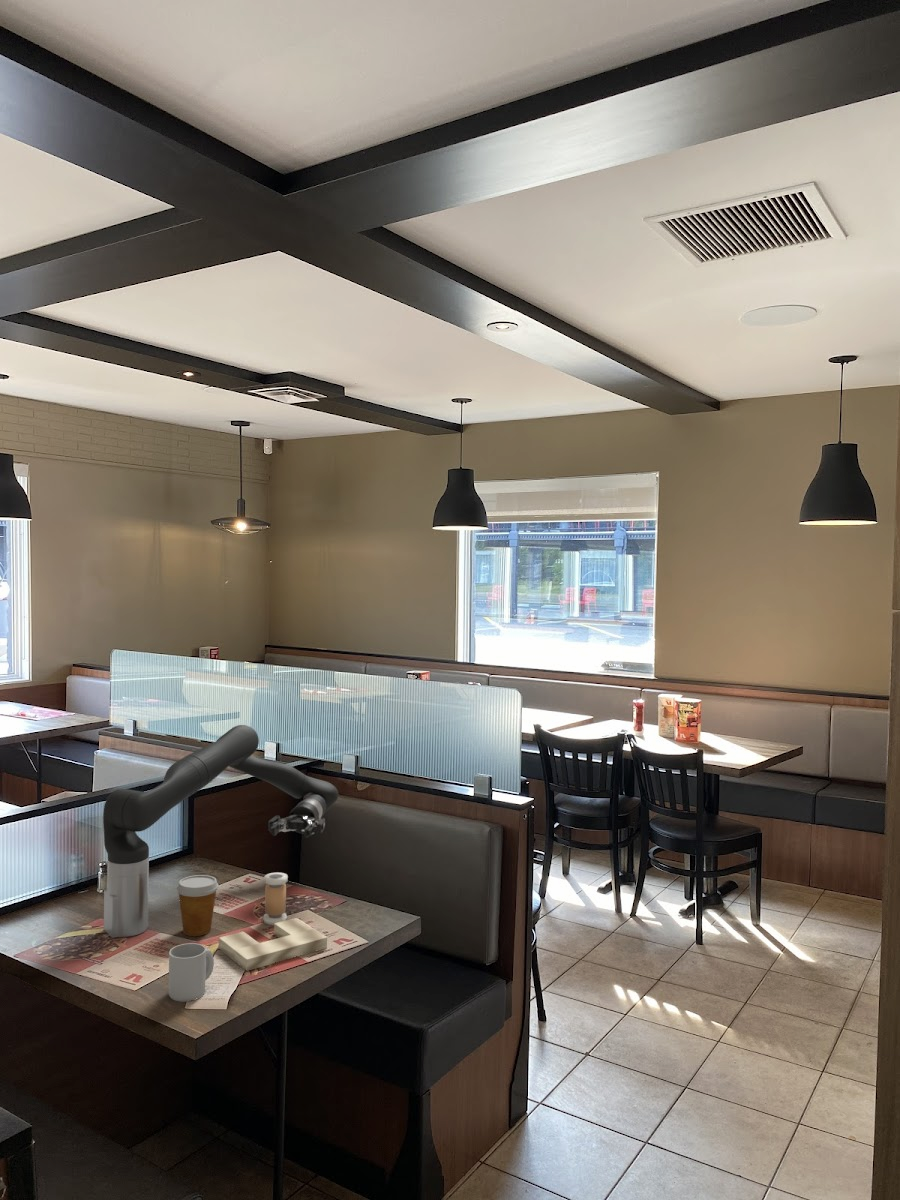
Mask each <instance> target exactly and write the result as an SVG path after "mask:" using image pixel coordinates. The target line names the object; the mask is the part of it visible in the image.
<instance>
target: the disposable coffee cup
mask: <svg viewBox="0 0 900 1200" xmlns="http://www.w3.org/2000/svg"><path fill="white" fill-rule="evenodd" d="M218 888H219V883H218V881H217V878H216V877H215V876H212V875H208V874H195V875H190V876H186V877H183V878H181V879H180V880H179V881H178V884H177V886H176V891H177V893H178V897H179V905H180V914H181V922H182V923H181V924H182V933H183V934H184V935H186V936H189V937H200V936H204V935H206V934H209V933H210V932H211V931H212V923H213V917H214V909H215V901H216V897H217V896H216V895H217V894H216V893H217V890H218Z"/></svg>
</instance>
